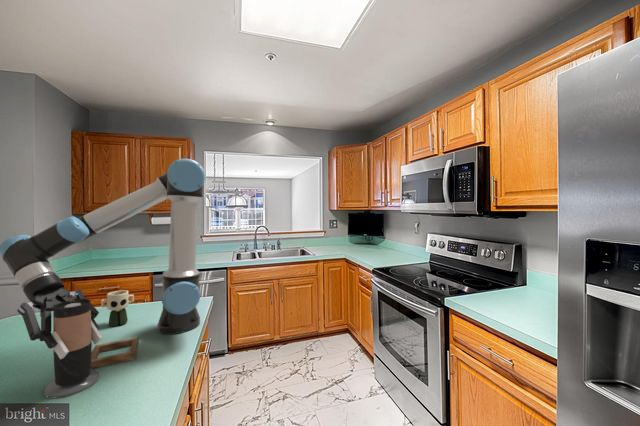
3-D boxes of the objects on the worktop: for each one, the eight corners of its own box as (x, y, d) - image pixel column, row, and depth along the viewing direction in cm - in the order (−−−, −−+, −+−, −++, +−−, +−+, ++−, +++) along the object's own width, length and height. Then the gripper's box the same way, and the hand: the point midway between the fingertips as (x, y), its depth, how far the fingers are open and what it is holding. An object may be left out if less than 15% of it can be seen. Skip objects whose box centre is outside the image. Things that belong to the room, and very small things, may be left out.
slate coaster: (103, 368, 81) (103, 365, 81) (94, 389, 72) (94, 386, 72) (53, 379, 76) (53, 376, 76) (36, 403, 67) (36, 400, 66)
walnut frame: (138, 342, 97) (138, 337, 97) (134, 359, 86) (134, 352, 86) (95, 351, 91) (95, 345, 91) (85, 369, 81) (85, 362, 81)
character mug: (101, 330, 107) (101, 297, 106) (100, 325, 112) (100, 293, 112) (135, 323, 114) (135, 291, 113) (133, 318, 119) (132, 288, 119)
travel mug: (69, 388, 69) (68, 309, 69) (45, 384, 71) (44, 307, 71) (99, 371, 77) (98, 299, 77) (77, 367, 79) (76, 298, 78)
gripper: (75, 281, 88) (113, 339, 83) (-18, 302, 68) (26, 378, 64) (87, 266, 86) (126, 323, 82) (-5, 282, 67) (41, 359, 62)
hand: (82, 347), depth 73 cm, fingers closed on travel mug, 7 cm apart
